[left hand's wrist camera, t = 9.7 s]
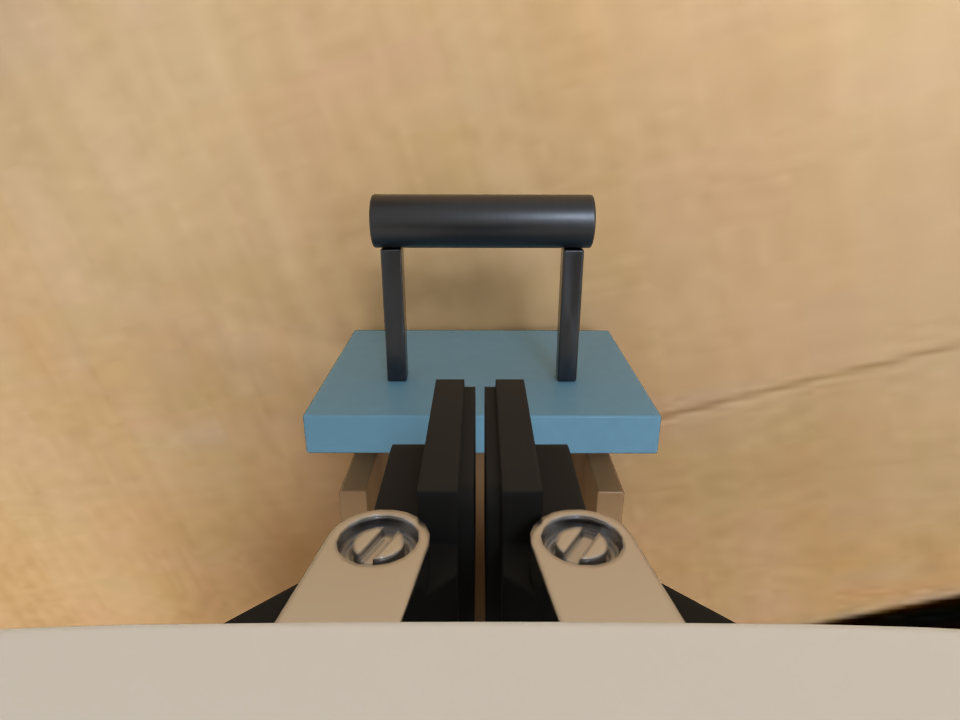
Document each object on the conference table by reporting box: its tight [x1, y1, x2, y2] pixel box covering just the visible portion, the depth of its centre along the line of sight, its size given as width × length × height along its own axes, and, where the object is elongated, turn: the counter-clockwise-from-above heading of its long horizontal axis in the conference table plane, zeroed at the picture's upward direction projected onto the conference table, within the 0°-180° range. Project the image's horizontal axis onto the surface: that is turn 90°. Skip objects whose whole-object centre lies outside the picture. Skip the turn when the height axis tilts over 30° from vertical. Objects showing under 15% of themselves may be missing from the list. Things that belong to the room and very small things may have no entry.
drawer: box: [303, 194, 661, 622], centre depth 23 cm, size 22×10×8 cm, turn 0°
